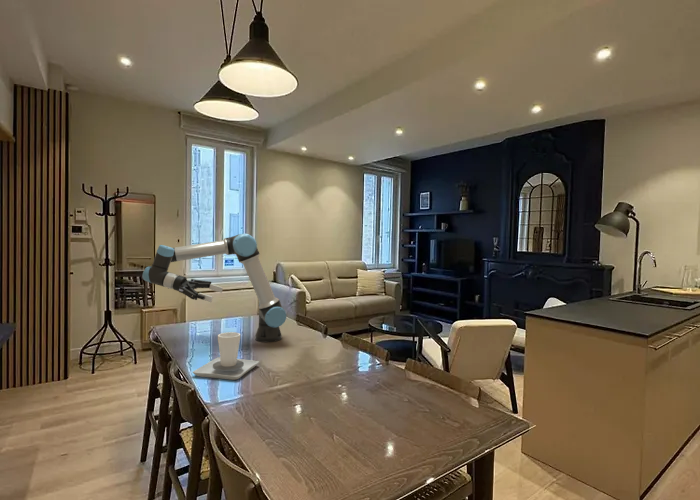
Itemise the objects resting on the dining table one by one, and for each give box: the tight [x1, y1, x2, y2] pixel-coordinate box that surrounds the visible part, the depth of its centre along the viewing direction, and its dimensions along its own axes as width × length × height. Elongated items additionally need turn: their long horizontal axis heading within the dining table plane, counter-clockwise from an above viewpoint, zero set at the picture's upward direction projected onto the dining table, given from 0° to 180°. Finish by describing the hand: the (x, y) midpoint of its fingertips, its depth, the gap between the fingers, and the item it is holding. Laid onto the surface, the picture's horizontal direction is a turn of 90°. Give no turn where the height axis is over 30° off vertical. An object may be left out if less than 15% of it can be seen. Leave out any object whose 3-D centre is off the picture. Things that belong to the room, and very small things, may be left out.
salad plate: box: [192, 356, 260, 381], centre depth 168 cm, size 21×21×3 cm
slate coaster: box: [213, 360, 244, 371], centre depth 168 cm, size 13×13×1 cm
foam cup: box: [217, 331, 241, 367], centre depth 168 cm, size 10×9×13 cm
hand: (217, 294), depth 190 cm, fingers open, 13 cm apart
